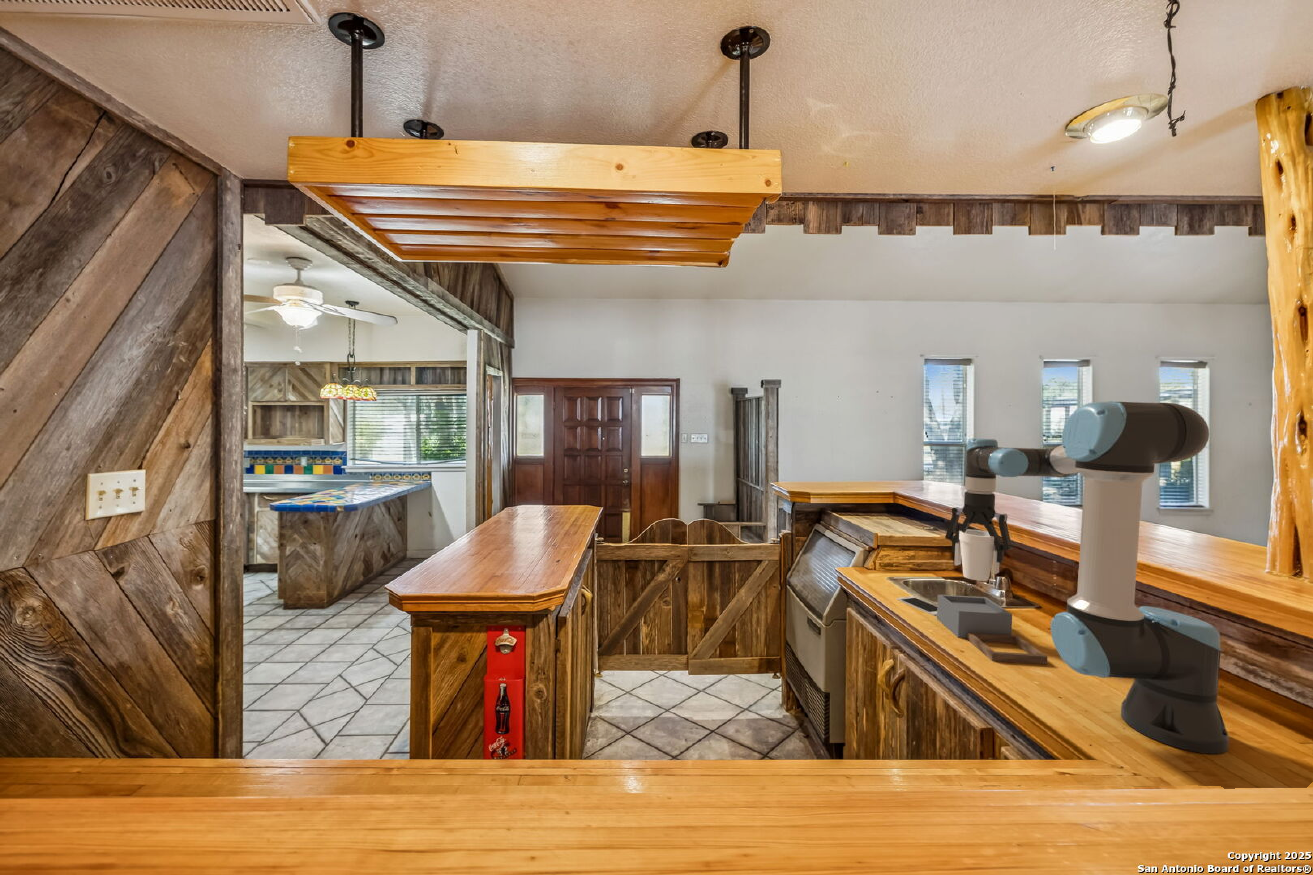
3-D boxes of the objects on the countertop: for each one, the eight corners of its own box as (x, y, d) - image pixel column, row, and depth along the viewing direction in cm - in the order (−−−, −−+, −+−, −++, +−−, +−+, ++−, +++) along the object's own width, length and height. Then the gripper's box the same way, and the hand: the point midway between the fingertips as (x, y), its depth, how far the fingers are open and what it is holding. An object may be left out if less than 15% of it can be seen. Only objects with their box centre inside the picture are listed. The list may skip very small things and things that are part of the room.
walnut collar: (1047, 664, 131) (1047, 656, 131) (992, 660, 132) (992, 652, 132) (1017, 642, 144) (1017, 635, 144) (967, 639, 145) (967, 632, 145)
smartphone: (933, 617, 163) (934, 614, 163) (895, 600, 177) (896, 597, 177) (951, 614, 165) (951, 611, 165) (912, 598, 180) (912, 595, 180)
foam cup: (950, 571, 156) (952, 528, 156) (982, 572, 156) (984, 529, 155) (968, 582, 147) (970, 536, 146) (1002, 583, 146) (1004, 537, 146)
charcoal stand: (1011, 640, 145) (1012, 614, 145) (958, 637, 146) (959, 611, 146) (985, 621, 159) (986, 597, 158) (936, 618, 160) (937, 594, 160)
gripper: (1029, 495, 144) (1025, 575, 145) (945, 486, 161) (941, 557, 162) (1019, 498, 139) (1015, 580, 140) (934, 488, 156) (931, 561, 158)
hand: (976, 568), depth 151 cm, fingers closed on foam cup, 9 cm apart
